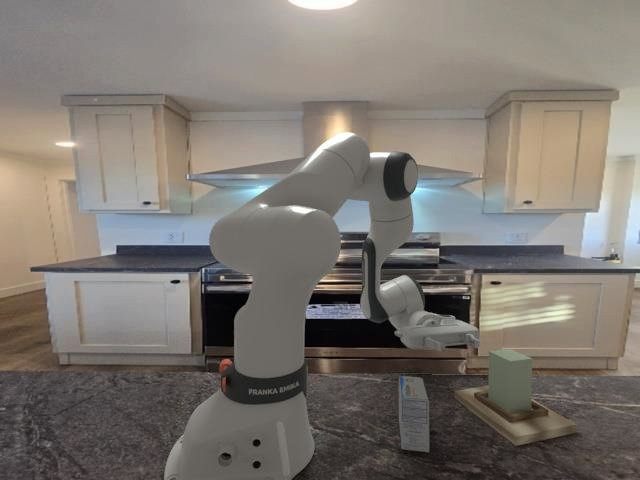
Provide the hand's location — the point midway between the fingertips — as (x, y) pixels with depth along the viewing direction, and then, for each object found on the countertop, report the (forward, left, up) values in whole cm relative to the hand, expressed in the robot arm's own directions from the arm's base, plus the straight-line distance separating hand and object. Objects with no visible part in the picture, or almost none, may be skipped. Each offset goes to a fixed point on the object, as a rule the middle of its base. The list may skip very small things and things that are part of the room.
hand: (460, 346), depth 71 cm
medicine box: (-21, -14, -9) cm, 27 cm away
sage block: (+1, -13, -7) cm, 15 cm away
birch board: (+1, -13, -8) cm, 16 cm away
